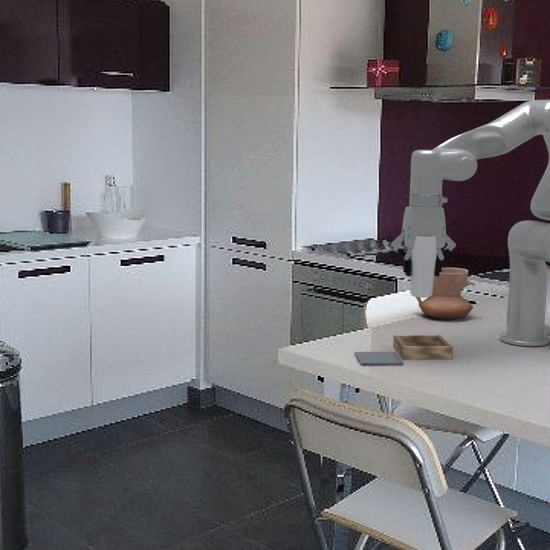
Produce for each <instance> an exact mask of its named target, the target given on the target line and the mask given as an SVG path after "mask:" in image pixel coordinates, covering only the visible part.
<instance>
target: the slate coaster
mask: <svg viewBox="0 0 550 550" xmlns="http://www.w3.org/2000/svg"><path fill="white" fill-rule="evenodd" d="M354 356H355V358H356V359H357V361H358V362H359V364H360V365H361V367H363V366H370V367H371V366H376V367H377V366H404V365H405V364H404V363H405V362H404V361H403V359H401V356H400V355H399V354H398V353H397V351H354Z"/></svg>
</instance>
